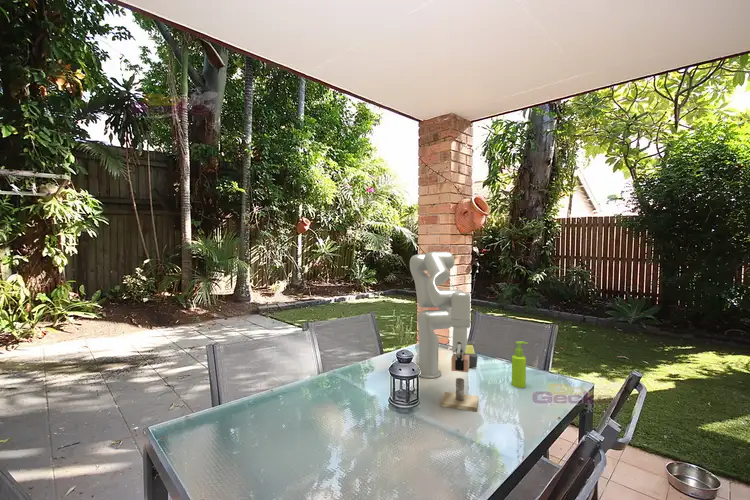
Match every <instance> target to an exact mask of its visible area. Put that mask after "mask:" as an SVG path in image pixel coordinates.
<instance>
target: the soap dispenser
mask: <svg viewBox="0 0 750 500" xmlns="http://www.w3.org/2000/svg"><path fill="white" fill-rule="evenodd" d="M515 344H516V347H515V348H514V354H513V355H511V386H512V387H514V388H518V389H519V388H522V389H523V388H526V385H527V384H526V378H527V377H526V376H527V375H526V374H527V372H526V371H527V370H526V369H527V366H526V365H527V363H526V362H527V357H526V356H525V355H524V348H522V345H523V344H524V345H525V344H526V345H529V342H527V341H522V340H520V341H519V340H518V341H515Z"/></svg>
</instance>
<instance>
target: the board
mask: <svg viewBox="0 0 750 500" xmlns="http://www.w3.org/2000/svg"><path fill="white" fill-rule="evenodd" d="M439 405H440V407H444V408H449V409H451V408H452V409H458V410H464V411H470V412H478V407H479V396H478V395H471V394H466V393H465V379H464V378H461V377H457V378H455V392H450V391H444V392H443V395H442V397H441V400H440V403H439Z"/></svg>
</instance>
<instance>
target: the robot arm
mask: <svg viewBox="0 0 750 500" xmlns="http://www.w3.org/2000/svg"><path fill="white" fill-rule="evenodd" d="M454 265H455V258H454V255H453V254H452V253H451V251H450V252H449V251H429V252H428V253H419V254H414V255H412V256H411V257H410V259H409V271H410V273H411V276H412V278H413V281H414V284H415V285H414V286H415V291H416V292H415V293H416V298H417V299H416V300H417V304H418V306H419V307H420V308H424V309H425V310H422V311H419V312H418V314H417V317H416V318H417V319H416V320H417V321H416V322H417V327H418V363H416V364H417V365H418V366H419V368H420V370H421V374H420V376H419V377H421V378H425V379H436V378H440V377H441V376H442V371H441V370H440V369H439V337H438V335H437V334H436V332H435V331H434V330H447V329H450V328H451V327H452V350H451V351H452V353H455V354H456V359H455V369H456V370H461V371H463V370H464V360H463V355H465V351H466V346H467V341H468V340H467V339H468V329H469V328H471V294H470V293H469V292H466V291H463V290H461V289H444V288H438V287H439V286H440V285H442V284H444V283H446V282H447V281H448V280H449V279H450V275H451V273H450V271H449V270H451V269H453V268H454ZM425 271H427V272H428V274H429V275H428V274H427V273H426V272H425ZM432 308H434V309H432ZM435 308H437V309H435ZM460 354H462V357H461V355H460Z"/></svg>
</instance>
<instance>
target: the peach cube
mask: <svg viewBox="0 0 750 500" xmlns="http://www.w3.org/2000/svg"><path fill="white" fill-rule="evenodd" d="M460 355H461V357H462V354H460ZM455 359H456V353H452V356H451V362H450V364H451V366H450V367H451V372H461V373H469V370H470V368H469V355H463V360H464V370H463V371H461V370H456V369H455Z"/></svg>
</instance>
